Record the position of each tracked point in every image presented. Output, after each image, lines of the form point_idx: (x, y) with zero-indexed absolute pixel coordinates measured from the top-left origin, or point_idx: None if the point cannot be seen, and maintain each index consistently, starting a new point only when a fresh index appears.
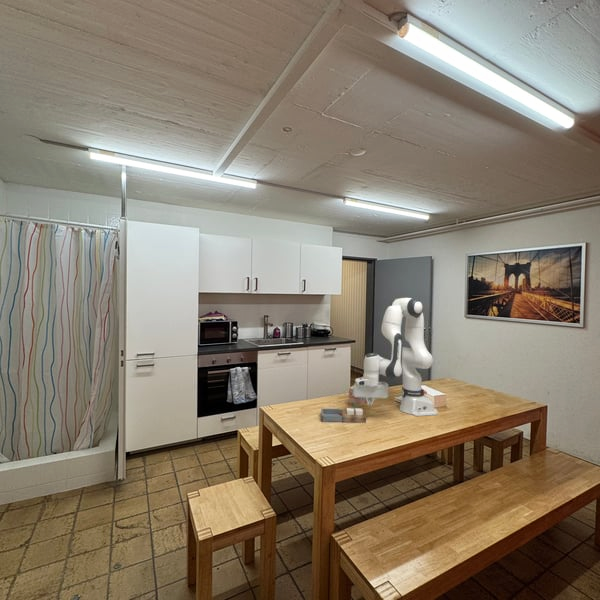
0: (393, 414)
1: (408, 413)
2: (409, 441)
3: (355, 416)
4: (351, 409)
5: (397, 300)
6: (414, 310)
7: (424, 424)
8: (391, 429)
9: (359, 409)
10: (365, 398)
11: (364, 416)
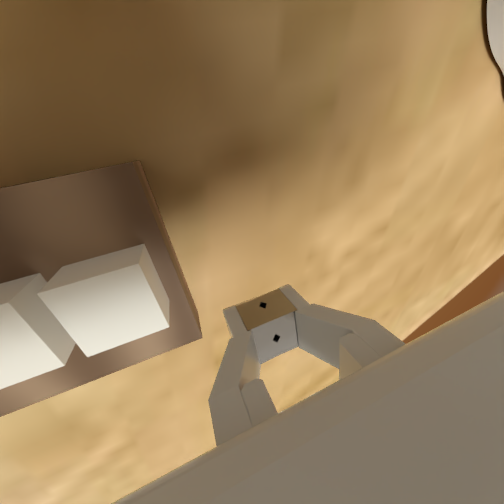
0: (401, 92)
1: (497, 60)
2: None
3: (108, 353)
4: (11, 356)
5: None
6: None
7: (474, 216)
8: None
9: (123, 313)
10: (214, 405)
11: (188, 322)
